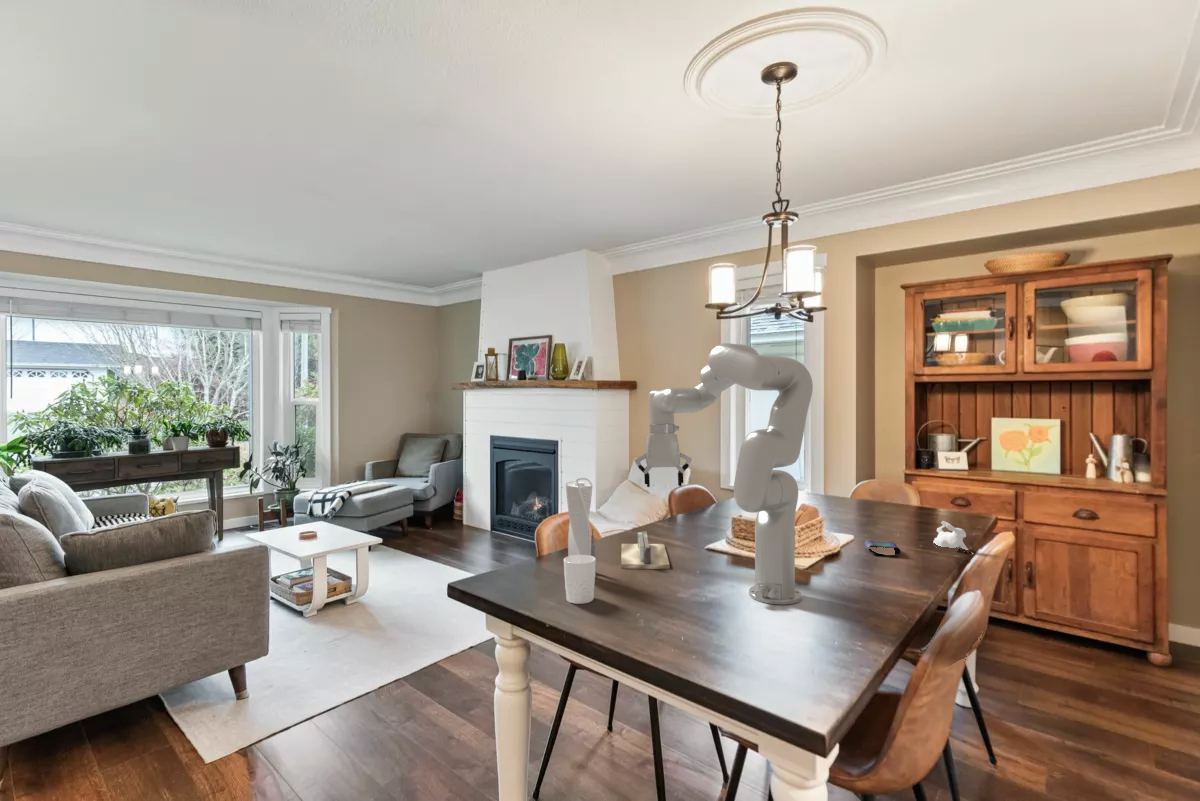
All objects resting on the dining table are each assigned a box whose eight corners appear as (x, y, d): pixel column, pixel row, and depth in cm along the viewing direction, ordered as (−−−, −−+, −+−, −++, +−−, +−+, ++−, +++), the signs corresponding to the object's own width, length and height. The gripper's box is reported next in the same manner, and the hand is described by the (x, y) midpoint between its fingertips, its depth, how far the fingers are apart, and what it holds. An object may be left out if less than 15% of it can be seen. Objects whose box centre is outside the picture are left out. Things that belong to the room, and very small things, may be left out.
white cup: (597, 594, 146) (597, 554, 146) (594, 605, 138) (593, 563, 138) (566, 593, 147) (566, 554, 147) (561, 604, 139) (561, 563, 139)
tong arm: (642, 546, 188) (642, 532, 188) (644, 561, 170) (644, 546, 170) (637, 546, 188) (637, 532, 188) (639, 561, 170) (639, 546, 170)
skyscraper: (595, 582, 156) (594, 478, 156) (565, 582, 156) (564, 478, 156) (596, 573, 164) (595, 474, 164) (567, 573, 164) (567, 474, 164)
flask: (868, 544, 180) (863, 538, 190) (868, 554, 180) (863, 547, 190) (901, 547, 178) (894, 540, 188) (901, 557, 177) (894, 549, 188)
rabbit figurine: (975, 554, 182) (975, 523, 182) (958, 557, 179) (958, 525, 179) (940, 545, 193) (940, 516, 193) (924, 548, 190) (923, 518, 190)
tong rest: (663, 548, 191) (663, 530, 191) (669, 569, 167) (669, 549, 167) (621, 548, 191) (621, 530, 191) (621, 569, 167) (621, 548, 167)
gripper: (688, 429, 180) (690, 484, 180) (633, 430, 181) (635, 485, 180) (691, 429, 173) (694, 486, 172) (634, 431, 173) (636, 488, 173)
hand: (664, 486), depth 176 cm, fingers open, 9 cm apart
